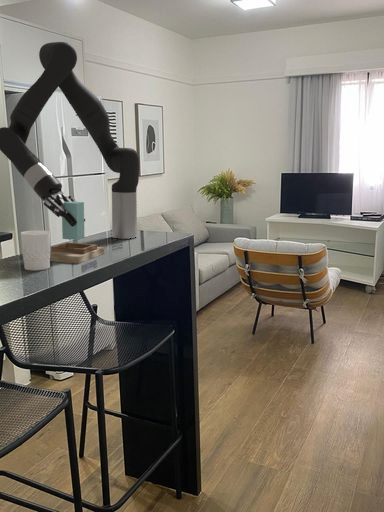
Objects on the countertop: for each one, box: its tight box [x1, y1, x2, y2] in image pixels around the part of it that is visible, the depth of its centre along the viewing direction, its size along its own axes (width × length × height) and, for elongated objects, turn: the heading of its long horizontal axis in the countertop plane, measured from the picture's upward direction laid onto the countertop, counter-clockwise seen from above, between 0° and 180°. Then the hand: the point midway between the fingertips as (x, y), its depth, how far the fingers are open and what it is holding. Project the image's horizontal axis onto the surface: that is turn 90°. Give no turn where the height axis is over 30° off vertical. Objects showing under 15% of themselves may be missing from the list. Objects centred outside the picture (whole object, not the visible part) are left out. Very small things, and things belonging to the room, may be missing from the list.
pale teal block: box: [61, 201, 85, 241], centre depth 154 cm, size 4×5×11 cm
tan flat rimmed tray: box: [50, 242, 105, 265], centre depth 156 cm, size 16×12×4 cm
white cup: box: [20, 229, 52, 271], centre depth 140 cm, size 8×8×10 cm
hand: (79, 223), depth 154 cm, fingers closed on pale teal block, 4 cm apart
